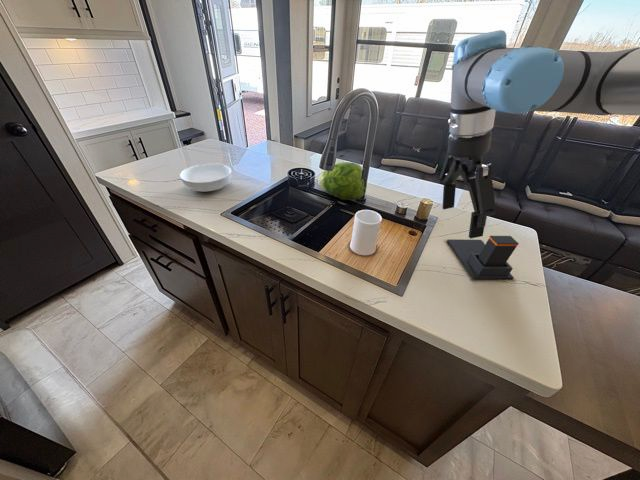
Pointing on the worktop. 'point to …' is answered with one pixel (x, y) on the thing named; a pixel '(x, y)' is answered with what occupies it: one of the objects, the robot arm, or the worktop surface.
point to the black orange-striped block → (497, 251)
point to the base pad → (468, 257)
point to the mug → (365, 232)
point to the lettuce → (343, 181)
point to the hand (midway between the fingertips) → (460, 220)
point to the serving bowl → (206, 177)
